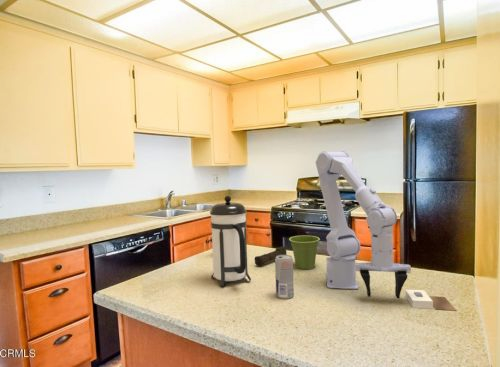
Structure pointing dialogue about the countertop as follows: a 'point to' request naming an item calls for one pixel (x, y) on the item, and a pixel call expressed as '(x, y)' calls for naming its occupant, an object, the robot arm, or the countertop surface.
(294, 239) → the plant pot
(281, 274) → the energy drink
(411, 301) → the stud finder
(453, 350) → the countertop surface
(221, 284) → the coffee press
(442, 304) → the brown flat slab
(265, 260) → the hand tool
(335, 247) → the robot arm
